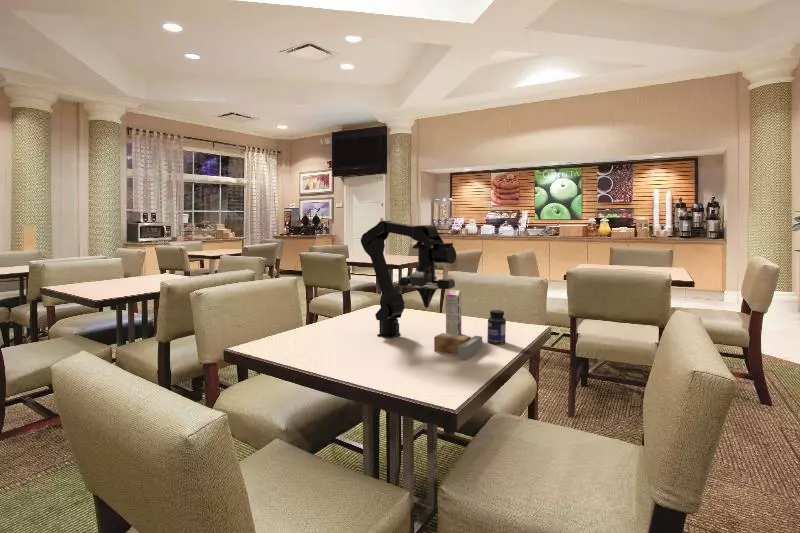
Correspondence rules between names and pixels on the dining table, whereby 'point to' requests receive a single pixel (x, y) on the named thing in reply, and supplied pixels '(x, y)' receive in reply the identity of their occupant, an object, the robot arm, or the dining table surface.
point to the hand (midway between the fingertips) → (426, 307)
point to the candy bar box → (453, 312)
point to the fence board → (469, 347)
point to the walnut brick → (448, 343)
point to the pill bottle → (496, 327)
